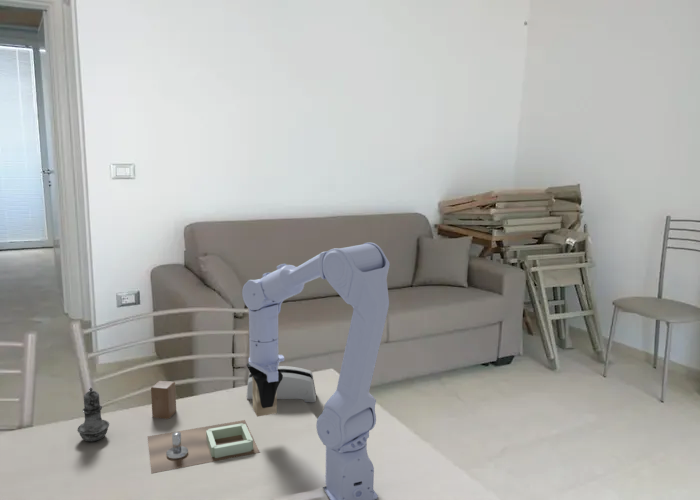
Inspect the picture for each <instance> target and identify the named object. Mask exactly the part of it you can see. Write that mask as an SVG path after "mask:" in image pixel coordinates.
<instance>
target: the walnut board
mask: <svg viewBox="0 0 700 500" xmlns="http://www.w3.org/2000/svg"><path fill="white" fill-rule="evenodd" d="M241 423H243V424H246V426H247V428H248V430H249V433H250V435H251V437H252V439H253V450H251V451H250V452H245V453H239V454H234V455H229V456H224V457H218V458H215V457H212V456H211V453H210V450H209V447H208V443H207V440H206V431H207V430H208V429H211V428H217V427H223V426H229V425H235V424H241ZM174 432H175V431H172V432H166V433H161V434H160V433H159V434H154V435H148V436H147V442H148V443H147V444H148V453H149V454H148V456H149V462H150V463H149V465H150V471H151V472H150V473H151V474H156V473H161V472H166V471H171V470H177V469H182V468H186V467H192V466H197V465H203V464H208V463H213V462H218V461H222V460H228V459H235V458H238V457H243V456H249V455H250V456H251V455H254V454H260V453H261V452H260V449H259V447H258V445H257V443H256V441H255V439H254V437H253V435H252V432H251V430H250V428H249V426H248V424H247V421H246V420H245V419H243V420H237V421H231V422H227V423H226V422H225V423H220V424H219V423H218V424H213V425H207V426H201V427H196V428H190V429H183V430H179V431H176V432H181V446H183V447H186V448H187V449H188V455H187V456H186V457H184V458H182V459H178V460H171V459H168V458H167V456H166V452H167V451H168V450H169V449H170V448H173V442H172V433H174ZM238 441H244V440H243V438H242V435H237V436H231V437H226V438H220V439H215V443H216V445H222V444H227V443H233V442H238Z"/></svg>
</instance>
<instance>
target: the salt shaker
mask: <svg viewBox="0 0 700 500" xmlns="http://www.w3.org/2000/svg"><path fill="white" fill-rule="evenodd" d="M83 406H84V408H83V409H82V412H83V413H84V421H83V423H81V424H80V425H78V427H77V430H76V431H77V433H78V434H79V436H80V437H81V440H83V441H86V442H96V441H100V440H101V439H103V438H104V437H105V436H106V435H107V433H108V430H109V426H110V423H109V421H107V420H105V419H102V413H101V410H102V408H103V407H102V405H101V403H100V394H99V392H98V391H97V390H94V389H93V387H90V388H89V389H88V391H87V392H86V393H84V395H83Z"/></svg>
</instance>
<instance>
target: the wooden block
mask: <svg viewBox="0 0 700 500" xmlns="http://www.w3.org/2000/svg"><path fill="white" fill-rule="evenodd" d="M150 388H151V389H150V394H151V396H150V397H151V412H152V413H151V414H152V415H151V416H152V418H155V419H163V420H164V419H166V420H168V419H171V418H172V417H173V416H174V415H175V413H176V412H177V397H176V396H177V395H176V394H177V393H176V382H175V381H169V380H158V381H157V382H156V383H155V384H153V385H152V386H151V387H150Z"/></svg>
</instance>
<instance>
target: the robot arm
mask: <svg viewBox="0 0 700 500" xmlns="http://www.w3.org/2000/svg"><path fill="white" fill-rule="evenodd" d="M390 264H391V263H390V261H389V260H388V258H387V256H386V255H385V252H384V250H383V248H381V246H379V245H378V244H377V243H374V242H371V241H370V242H368V241H367V242H364V243H362V244H357V245H351V246H347V247H346V246H345V247H341V248H339V247H338V248H337V247H336V248H335V247H334V248H331V249H329V250H326V251H322V252H320V253H319V254H317V255H315V256H314V257H313V256H312V258H310V259H308V260H306V261H305V262H303V263H302V264H300V265H298V266H295V265H293V264H287V263H280V264H279V265H277V266H276V270H274V271H272V272H269V271H268V272H265V273H263V274H262V277H261V278H258V279H248V280H247V282H245V283H244V285H243V287H242V291H241V292H242V293H241V296H242V299H243V302H244V305H245V306H246V307H247V309H248V329H249V330H248V331H249V332H248V336H249V338H248V339H249V347H248V348H249V357H248V363H246V367H247V369H248V371H249V374H250V373H251V376H253V378H254V380H255V381H256V384H257V387H258V390H259V396H260V402H261V405H262V408H267V407H272V406H273V403H274V399H275V395H276V391H277V388H278V386H279V384H280V382H281V380H282V378H283V375H282V373H281V372H280V373H278V366H280V363H281V362H285V356H284V355H283V354H279V353H280V352H279V314H281V311H282V308H281V307H282V304H283V302H284V301H285V300H287V299H289V298H292V297H294V296H296V295H299V294H301V293H302V291H304V288H305V284H307V283H309V282H311V281H314V280H316V279H322V280H326V281H327V283H328V284H329V285H330V286H331V287H332V289H333V290H334V291H335V292H336V293H337V294H338V295H339V296H340V298H342V299H343V301H344V302H345V303H346V304H347V305H350V306H351V307H352V314H351V315H352V316H351V318H350V319H351V320H350V325H349V329H348V334H347V339H346V343H345V348H344V353H343V357H342V358H343V359H342V362H341V368H340V370H339V377H338V381H337V387H336V389H335V391H334V392H333V394H331V396H330V398H328V400H327V401H326V402H325V404H324V406H323V410H322V412H321V414H320V415H319V416H318V417H317V420H316V432H317V433H316V434H317V435H318V438H319V439H320V440H319V441H321V442H322V444H323V446H325V485H326V486H323V487H322V489H323V490H324V492H325V494H326V496H327V497H328V499H329V500H378V499H379V495H378V494H377V492H376V491H375V490H374V484H375V483H374V482H375V481H374V476H375V475H374V474H375V467H374V464H373V462H372V460H371V458H370V457H369V455H368V449H367V442H368V441H367V440H368V439H369V438H370V431H372V430H373V429H374V428H375V426H376V424H377V423H376V422H377V415H376V404H377V399H375V397H374V396H373V395H372V394H371V393H370V388H371V386H372V380H373V375H374V372H375V367H376V364H377V358H378V353H379V351H380V346H381V341H382V337H383V333H384V330H385V324H386V320H387V315H388V313H389V307H390V297H389V290H388V289H389V288H388V280H387V278H388V274H389V269H390Z"/></svg>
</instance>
